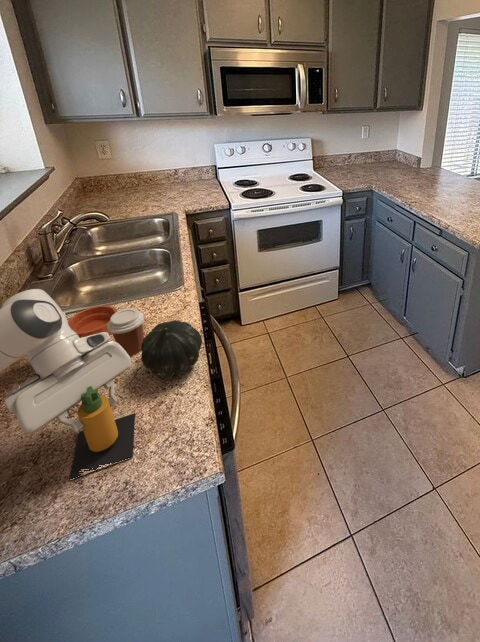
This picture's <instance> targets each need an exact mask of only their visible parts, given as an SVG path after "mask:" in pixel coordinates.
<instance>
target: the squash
mask: <svg viewBox="0 0 480 642" xmlns="http://www.w3.org/2000/svg"><path fill="white" fill-rule="evenodd" d="M202 345H203V339H202V335H201V333H200V332H199V330H197V329H196V328H195V327H194V326H192V325H191V324H190V323H189V322H186V321H180V320H177V319H174V320H170V321H163V322H159V323H158V324H157V325H155V326H154V327H153V328H152V330H151V331H150V332H148V333H147V334H146V335H144V340H143V342H142V345H141V350H142V351H141V362H142V364H143V366H144V367H145V369H148V370H149V372H150V373H151V374H153V375H159V376H161V378H162V379H165V380H169V379H170V378H172V377H173V376H174V375H175V376H182V375H183V374H185V372H186V371H187V369H188V368H189V367H190V368H191V367H192V366H194V365H195V364H196V363H197V362H198V360H199V358H200V350H201V347H202Z"/></svg>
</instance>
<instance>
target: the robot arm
mask: <svg viewBox="0 0 480 642" xmlns="http://www.w3.org/2000/svg"><path fill="white" fill-rule="evenodd" d="M64 313H65V312H64V311H63V310H62V309H61V307H60V306H59V305H58V303H56V301H55V300H54V299H53V298H52V297H51V296H50V295H49V294H48V293H47V292H46V291H45V290H44V289H41V288H31V289H25V290H23V291H20V292H17V293H15V294H13V295H12V296H10V297H8V298H7V299H5V301H4V302H3V303H2V306H1V308H0V372H2V371H3V370H5V369H7V368H8V367H10V366H11V365H13V364H14V363H16V362H17V361H19V360H20V359H22V358H23V357H25V356H26V355H27V360H28V363H29V364H30V365H31V367H32V369H33V370H34V372H35V375H33V376H32V377H30V378H28V379H27V380H25V381H24V382H22V383H21V384H19V385H16V386H14V387H13V388H11V389H10V390H9V393H7V395H6V396H5V397H4V401H3V404H4V406H5V408H6V410H7V411H8V412H9V413H11V414H15V416H16V419H17V422H18V424H19V426H20V429H21V430H22V432H23V434H25V435H33V434H35V433H37V432H38V431H40V430H41V429H42V428H44V427H45V426H46V425H48V424H49V423H51V422H52V421H54V420H57V421H58V423H59V424H62V425H65V426H68V427H70V428H71V429H72V431H73V432H74V434H77V432H78V433H79V431H81V430H83V429H82V428H83V427H84V424H83V423H81V422H82V421H81V420H80V419H79V418H78V419H77V420H76V421H75V420H72V419H71V418H68V417H69V413H68V411H69V410H70V409H71V408H73V407H75V406H76V405H77V404H79V403H81V402H82V400H81V394H84V393H86V392H87V387H90V386H92V388H93V391H94V390H98V391H99V390H100V389H101V388H104V389H105V390H106V391H107V390H108V397H107V398H108V400H109V403H110V406H111V407H113V406H114V405H115V404H117V403H119V400H118V398H117V396H116V395H115V393H116V392H115V391H116V382H114V379H116V378H118V377H119V376H120V375H121V374H123V373H125V372H126V371H127V370H129V369H130V368H131V366H132V363H133V360H132V357H131V356H129V355H128V354H127V352H126V351H125V350H124V349H123V348H122V347H121V346H120V345H119V344H118V343H117V342H115V340H111V339H110V338H111V335H109V334H108V333H107V332H101V333H98V334H94V335H90V336H86V337H82V338H79V336H78V335H77V333H76V332H74V331H73V330H72V329H71V328H70V327H69V324H68V321H69V319H68V317H67V315H66V314H65V315H66V316H65V315H64Z"/></svg>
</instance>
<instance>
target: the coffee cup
mask: <svg viewBox="0 0 480 642" xmlns="http://www.w3.org/2000/svg"><path fill="white" fill-rule="evenodd" d="M144 321H145V315H144V313H143V312H142V311H141V310H138V309H137V308H134V307H127V308H123V309H120V310H117V312H116V313H115V314H113V315H112V317H111V318H110V321H109V322H108V324H107V329H108V331H109V332H111V333H112V334H111V335H112V337H113V340H114V341H115V342H117V343H118V344H119V345H120V346H121V347H122V348H123V349H124V350H125V351H126V352H127V354H128V355H129V356H130V357H133V356H136V355H138V354H140V353H142V350H141V345H142V342H143V340H144V338H145V334H144V327H143V326H144V325H143V322H144Z"/></svg>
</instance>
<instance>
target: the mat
mask: <svg viewBox="0 0 480 642" xmlns="http://www.w3.org/2000/svg"><path fill="white" fill-rule="evenodd" d="M114 420H115V423H116V427H117V430H118V437H117V439H116V440H115V442H114V443H113V444H112V445H111V446H110V447H108V448H107V449H105V450H102V451H98V452H94V451H91V450H90V449H89V446H88V443H87V440H86V437H85V434H84V432H83V429H81V430H79V431H78V436H77V440H76V445H75V449H74V450H75V451H74V455H73V459H72V463H71V469H70V474H69V479H68V480H69V481H70V479H73V478H76V477H78V476H80V475H81V474H79V473H83V472H79V471H81V469H89V470H84V471H90V470H96V469H97V468H98V467H101V466H99V465H105V464H110V463H115V462H119V461H122V460H125V459H128V458H131V457H133V458H134V444H135V442H134V441H135V426H136V425H135V423H136V413H134V412H133V413H131V414H128V415H125V416H122V417H118V418H114ZM131 459H132V458H131ZM128 460H129V459H128ZM125 461H126V460H125ZM92 468H93V469H92Z"/></svg>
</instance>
